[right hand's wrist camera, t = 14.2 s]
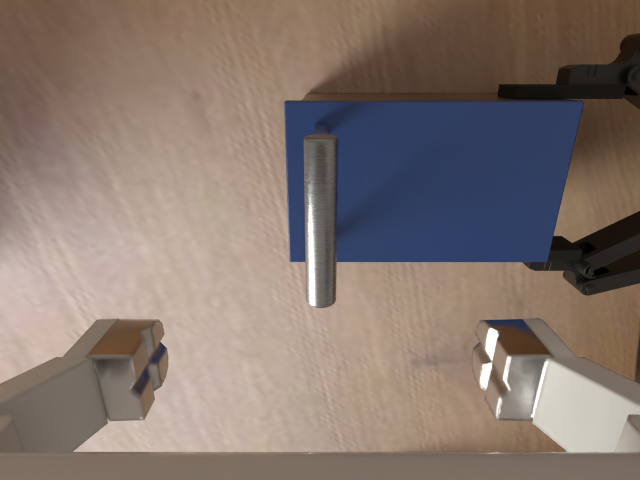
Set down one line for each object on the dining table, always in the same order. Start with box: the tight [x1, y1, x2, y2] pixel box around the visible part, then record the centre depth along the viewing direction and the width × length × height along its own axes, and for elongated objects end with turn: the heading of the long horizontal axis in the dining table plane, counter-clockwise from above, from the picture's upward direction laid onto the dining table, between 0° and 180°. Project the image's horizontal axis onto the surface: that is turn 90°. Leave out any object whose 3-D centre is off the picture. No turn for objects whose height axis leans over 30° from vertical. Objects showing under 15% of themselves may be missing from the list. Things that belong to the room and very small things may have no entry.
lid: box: [284, 100, 584, 308], centre depth 22 cm, size 17×10×8 cm, turn 90°
